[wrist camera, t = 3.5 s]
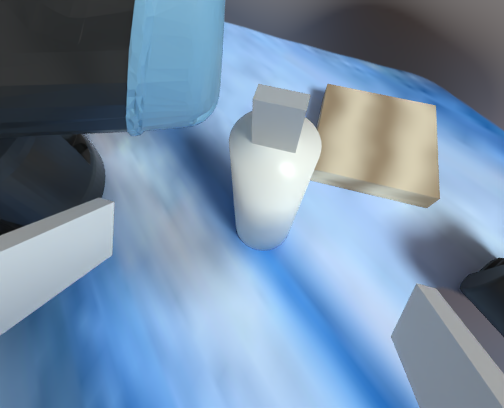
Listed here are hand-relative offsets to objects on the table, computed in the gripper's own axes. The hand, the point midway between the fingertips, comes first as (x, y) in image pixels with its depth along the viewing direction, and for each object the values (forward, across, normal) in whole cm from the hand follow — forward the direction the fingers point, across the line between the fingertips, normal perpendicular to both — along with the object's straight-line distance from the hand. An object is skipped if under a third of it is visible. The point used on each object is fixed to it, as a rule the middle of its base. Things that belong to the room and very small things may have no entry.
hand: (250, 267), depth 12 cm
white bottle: (+13, 0, -4) cm, 14 cm away
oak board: (+22, +8, +5) cm, 24 cm away
